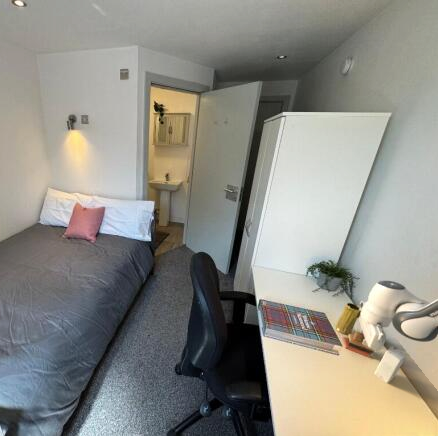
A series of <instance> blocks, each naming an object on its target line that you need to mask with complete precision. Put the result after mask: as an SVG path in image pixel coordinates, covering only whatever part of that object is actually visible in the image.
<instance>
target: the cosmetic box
mask: <svg viewBox="0 0 438 436" xmlns="http://www.w3.org/2000/svg"><path fill="white" fill-rule="evenodd" d="M407 355H408V354H407V353H405V352H404V351H402V350H400V349H398V348H397V347H395V346H391V347H390V348H388V349H387V350H386V351H385V353H384V354H383V355H382V358H381V360H380V362H379V364H378V365H377V367H376V369H375V371H374V375H375V376H376V377H378V378H379V379H380V380H381V381H383V382H385V384H389V383H390V382H391V381H393V379H394V378H395V377H396V375H397V373H398V372H399V370H400V368H401V367H402V365H403V363H404V361H405V359H406V357H407Z"/></svg>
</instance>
